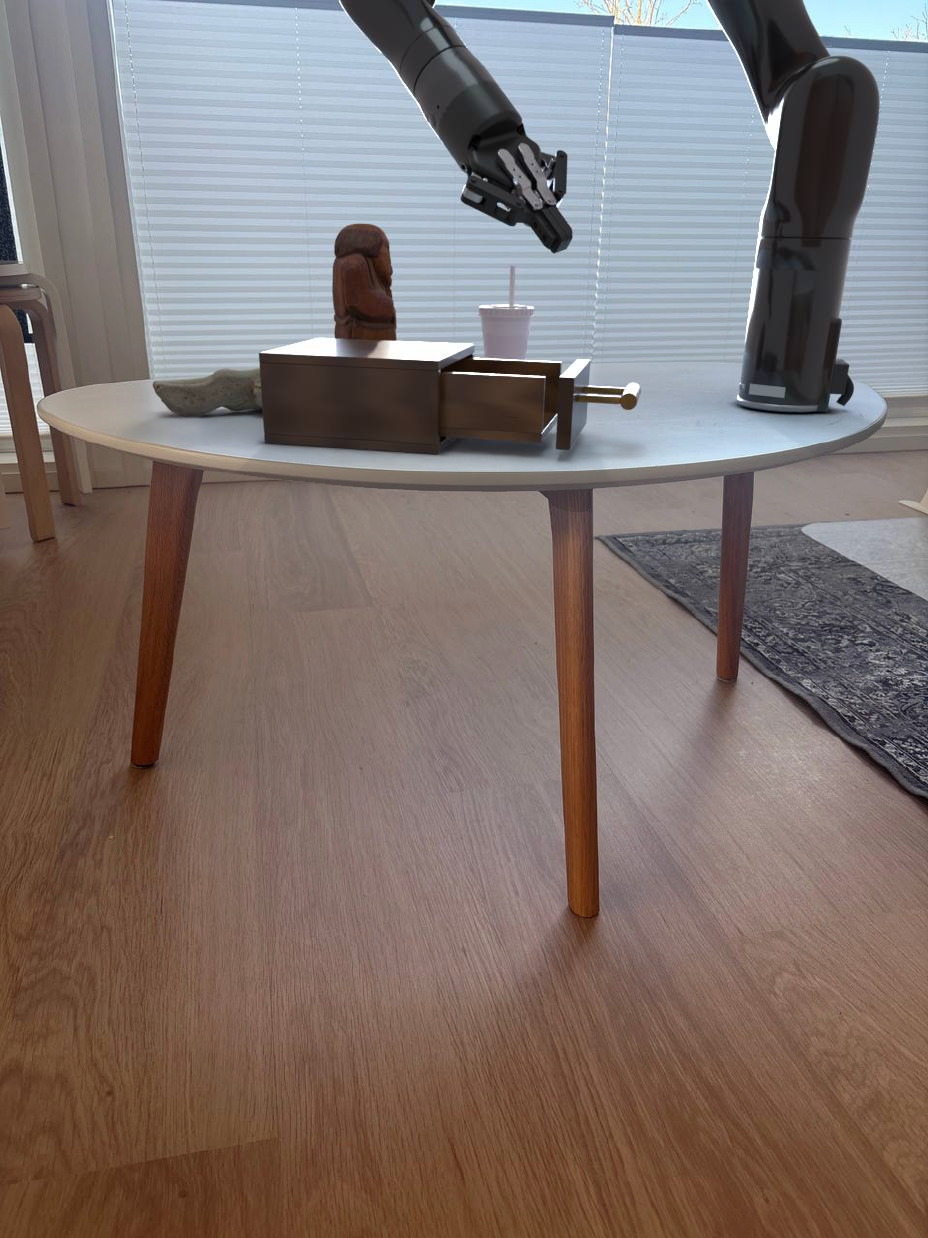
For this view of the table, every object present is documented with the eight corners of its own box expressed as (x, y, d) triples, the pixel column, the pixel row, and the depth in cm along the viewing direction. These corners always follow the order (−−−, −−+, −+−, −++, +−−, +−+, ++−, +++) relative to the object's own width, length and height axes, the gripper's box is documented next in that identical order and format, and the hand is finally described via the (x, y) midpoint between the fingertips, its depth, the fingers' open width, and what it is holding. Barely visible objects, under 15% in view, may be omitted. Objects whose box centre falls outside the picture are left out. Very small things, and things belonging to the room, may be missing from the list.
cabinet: (473, 425, 90) (474, 343, 87) (437, 454, 78) (438, 360, 75) (321, 416, 93) (317, 337, 90) (264, 442, 81) (258, 352, 78)
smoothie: (527, 399, 105) (532, 266, 100) (471, 396, 106) (473, 265, 101) (534, 391, 111) (540, 265, 105) (481, 388, 112) (484, 264, 107)
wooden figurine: (406, 406, 100) (404, 223, 93) (347, 407, 98) (341, 222, 91) (385, 389, 110) (382, 224, 103) (331, 390, 108) (325, 223, 102)
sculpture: (160, 430, 89) (315, 411, 93) (150, 379, 88) (308, 362, 91) (159, 421, 96) (304, 404, 100) (150, 373, 94) (298, 357, 98)
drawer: (639, 426, 86) (645, 361, 84) (630, 454, 75) (637, 380, 72) (436, 414, 90) (436, 352, 88) (399, 439, 79) (398, 369, 76)
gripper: (423, 91, 86) (525, 234, 84) (532, 66, 92) (630, 199, 89) (404, 156, 93) (498, 290, 90) (507, 128, 99) (598, 254, 96)
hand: (564, 245), depth 90 cm, fingers closed
